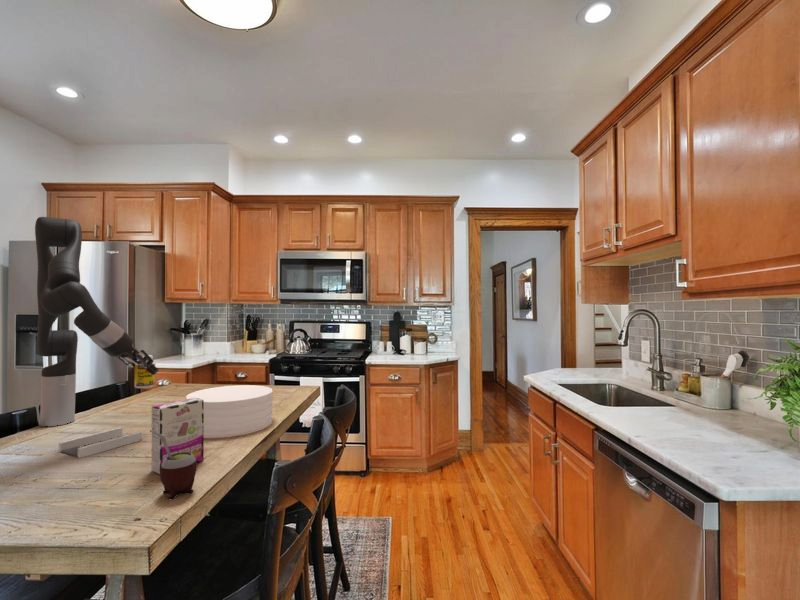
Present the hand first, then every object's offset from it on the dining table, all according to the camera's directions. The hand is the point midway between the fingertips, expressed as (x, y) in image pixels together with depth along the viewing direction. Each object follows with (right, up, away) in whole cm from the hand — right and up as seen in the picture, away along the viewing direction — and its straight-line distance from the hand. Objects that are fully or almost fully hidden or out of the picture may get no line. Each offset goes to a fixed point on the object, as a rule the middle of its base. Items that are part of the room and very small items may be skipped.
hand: (150, 371), depth 126 cm
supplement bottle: (-1, -5, -2) cm, 5 cm away
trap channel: (-5, -20, -12) cm, 24 cm away
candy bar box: (+25, -19, -28) cm, 42 cm away
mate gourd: (+34, -19, -43) cm, 58 cm away
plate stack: (+23, -21, +8) cm, 32 cm away
